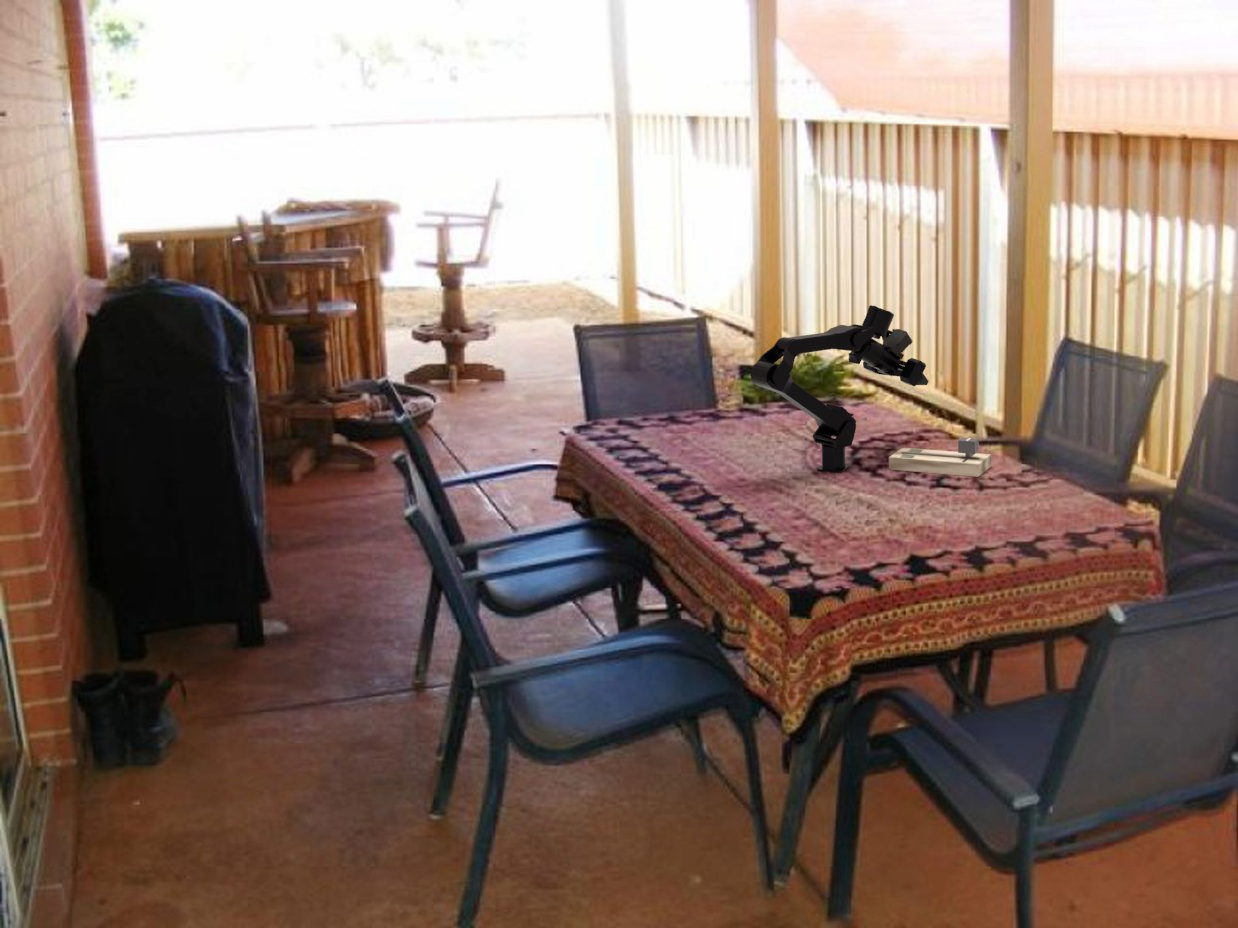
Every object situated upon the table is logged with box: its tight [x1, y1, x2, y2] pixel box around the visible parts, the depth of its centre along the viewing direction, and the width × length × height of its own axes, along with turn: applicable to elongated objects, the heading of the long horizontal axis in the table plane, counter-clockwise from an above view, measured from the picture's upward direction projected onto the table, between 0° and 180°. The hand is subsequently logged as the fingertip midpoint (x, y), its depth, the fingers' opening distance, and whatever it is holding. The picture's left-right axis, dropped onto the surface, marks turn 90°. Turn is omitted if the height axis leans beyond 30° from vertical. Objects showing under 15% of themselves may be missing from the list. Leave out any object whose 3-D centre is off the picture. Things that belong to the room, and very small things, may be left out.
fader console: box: [888, 447, 992, 478], centre depth 363 cm, size 10×22×3 cm, turn 60°
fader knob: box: [957, 437, 980, 457], centre depth 358 cm, size 3×4×4 cm
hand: (915, 378), depth 377 cm, fingers open, 9 cm apart
